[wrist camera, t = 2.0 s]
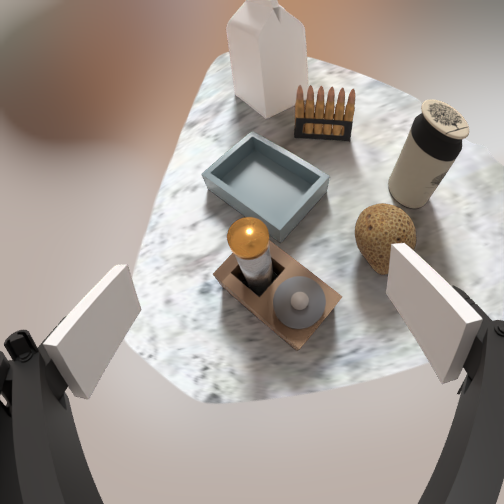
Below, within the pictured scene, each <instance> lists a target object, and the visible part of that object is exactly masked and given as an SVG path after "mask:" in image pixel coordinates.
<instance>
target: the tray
mask: <svg viewBox="0 0 504 504" xmlns="http://www.w3.org/2000/svg"><path fill="white" fill-rule="evenodd" d="M202 177H203V179H204V181H205V184H206V186H207V188H208V190H210V191H211V192H213V193H214V194H215V195H217V196H218V197H219V198H221V199H222V200H223V201H225V202H226V203H227V204H229V205H230V206H232V207H233V208H234V209H236V210H237V211H238V212H240V213H241V214H242V215H244V216H245V217H253V218H257V219H259V220H261V221H262V222H263V223H264V224H265V225H266V226H267V229H268V232H269V235H270V236H272V237H273V238H274V239H276V240H277V241H278V242H280V243H281V242H282V241H283V240H284V239H285V238H286V237H287V235H288V234H289V233H290V232H291V231H292V230H293V229H294V228H295V227H296V226H297V224H298V223H299V222H300V221H301V220H302V219H303V218H304V217H305V215H306V214H307V213H308V212H309V211H310V210H311V209H312V208H313V207H314V205H315V204H316V203H317V202H318V201H319V200H320V199H321V198H322V196H323V195H324V194H325V193H326V192H327V188H328V183H329V178H330V176H329V175H327V174H326V173H324V172H322V171H321V170H319V169H318V168H316V167H314V166H313V165H311V164H309V163H308V162H306V161H304V160H303V159H301V158H299V157H298V156H296V155H294V154H293V153H291V152H289V151H287V150H286V149H284V148H282V147H280V146H279V145H277V144H275V143H273V142H271V141H270V140H268V139H266V138H264V137H262V136H260V135H259V134H257V133H255V132H253V131H251V132H250V133H249V134H248V135H246V136H245V137H244V138H243V139H241V140H240V141H239V142H238V143H237V144H235V145H234V146H233V147H232V148H231V149H230V150H228V151H227V152H226V153H225V154H224V155H223V156H221V157H220V158H219V159H218V160H217V161H216V162H215V163H213V164H212V165H211V166H210V167H209V168H208V169H207V170H205V171H204V172H203V173H202Z"/></svg>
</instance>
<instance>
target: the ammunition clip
mask: <svg viewBox="0 0 504 504" xmlns="http://www.w3.org/2000/svg"><path fill="white" fill-rule="evenodd" d="M334 97H335V95H334V89H333V87H331V88H330V90H329V92H328V97H327V103H326V106H325V105H324V90H323V87H322V86H320V88H319V90H318V94H317V102H316V105H314V92H313V88H312V86H311V85H310V86H309V88H308V92H307V99H306V104H305V105H304V98H303V89H302V87H301V85H299V86H298V89H297V94H296V103H295V131H294V137H295V138H310V139H328V140H342V141H350V137H351V130H352V123H353V122H352V121H353V115H354V110H355V107H354V105H355V90H354V89H352V90H351V92H350V94H349V97H348V102H347V105H346V108H345V106H344V103H345V91H344V88H341V90H340V92H339V95H338V100H337V104H336V107H335V106H334ZM334 108H335V114H334ZM314 109H315V113H314ZM324 109H325V114H324ZM344 109H345V114H344ZM304 111H305V112H304ZM333 119H334V120H333ZM304 124H305V125H304ZM332 125H333V129H332ZM313 127H314V128H313Z"/></svg>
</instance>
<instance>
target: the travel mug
mask: <svg viewBox="0 0 504 504" xmlns="http://www.w3.org/2000/svg"><path fill="white" fill-rule="evenodd" d="M421 109H422V113H421V114H420V115H418V116H417V117H416V118H415V119H414V122H413V124H412V127H411V129H410V132H409V134H408V137H407V139H406V142H405V144H404V146H403V149H402V151H401V153H400V156H399V158H398V160H397V163H396V165H395V167H394V169H393V171H392V174H391V176H390V178H389V182H388V186H389V190H390V192H391V194H392V196H393V197H394V198H395V199H396V200H397V201H398V202H399V203H400V204H402V205H404V206H406V207H409V208H420V207H422V206H424V205H425V204H426V202H427V201H428V200H429V198H430V197H431V195H432V194H433V192H434V191H435V190H436V188H437V187H438V185H439V184H440V182H441V181H442V179H443V178H444V176H445V175H446V173H447V172H448V170H449V169H450V167H451V166H452V164H453V163H454V161H455V159H456V158H457V156H458V155H459V153H460V151H461V150H462V139H464V138H466V137H467V136H468V135H469V126H468V124H467V122H466V120H465V119H464V117H463V116H462V115H461V114H460V113H459V112H458V111H457V110H456V109H454V108H453V107H451V106H450V105H448V104H446V103H444V102H441V101H438V100H426V101H424V102H423V104H422V107H421Z"/></svg>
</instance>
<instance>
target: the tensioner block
mask: <svg viewBox="0 0 504 504" xmlns="http://www.w3.org/2000/svg"><path fill="white" fill-rule="evenodd" d="M269 241H270V240H269ZM269 247H270V254H271V262H272V269H273V272H274V273H275V274H276V275H278V277H277V278H276V280H275V281H274V282H273V283H272V284H271V285H270V286H269V287H268V289H267V290H266V291H265V292H264V293H263V294H262V295H261V296H260V297H258V296H257V295H256V294H255V293H254V292H252V291H251V290H250V289H249V288H248V287H246V286H245V285H244V284H243V283H242V281H243V280H244V279H245V277H244V275H243V272H242V270H241V268H240V266H239V264H238V261H237V259H236V257H235V255H234V253H232V254H231V255H230V256H229V257H228V258H227V260H226V261H225V262H224V263H223V264H222V265H221V266H220V267H219V268H218V269H217V270H216V271H215V272H214V273H213V275H214V276H215V278H216V279H217V280H218V282H219V283H220V284H221V285H222V287H223V288H224V289H226V290H227V291H228V292H229V293H230V294H231V295H232V296H233V297H235V298H236V299H237V300H238V301H239V302H240V303H241V304H242V305H244V306H245V307H246V308H247V309H248V310H249V311H251V312H252V313H253V314H254V315H255V316H256V317H257V318H259V319H260V320H261V321H262V322H263V323H264V324H266V325H267V326H268V327H269V328H270V329H271V330H273V331H274V332H275V333H276V334H277V335H279V336H280V337H281V338H282V339H283V340H284V341H286V342H287V343H288V344H289V345H290V346H292V347H293V348H294V349H295V350H297V351H298V350H299V349H300V348H301V347H302V346H303V345H304V343H305V342H306V341H307V340H308V339H309V337H310V336H311V335H312V334H313V333H314V332H315V330H316V329H317V328H318V327H319V325H320V324H321V323H322V322H323V321H324V319H325V318H326V317H327V316H328V314H329V313H330V312H331V311H332V309H333V308H334V307H335V306H336V304H337V303H338V302H339V300H340V299H341V298H342V296H341V295H340V294H338V293H337V292H336V291H335V290H333V289H332V288H331V287H329V286H328V285H327V284H326V283H324V282H323V281H322V280H321V279H319V278H318V277H317V276H315V275H314V274H313V273H312V272H310V271H309V270H308V269H306V268H305V267H304V266H303V265H301V264H300V263H299V262H297V261H296V260H295V259H294V258H292V257H291V256H290V255H288V254H287V253H286V252H284V251H283V250H282V249H281V248H279V247H278V246H277V245H275V244H274V243H273V242H271V241H270V242H269Z"/></svg>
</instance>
